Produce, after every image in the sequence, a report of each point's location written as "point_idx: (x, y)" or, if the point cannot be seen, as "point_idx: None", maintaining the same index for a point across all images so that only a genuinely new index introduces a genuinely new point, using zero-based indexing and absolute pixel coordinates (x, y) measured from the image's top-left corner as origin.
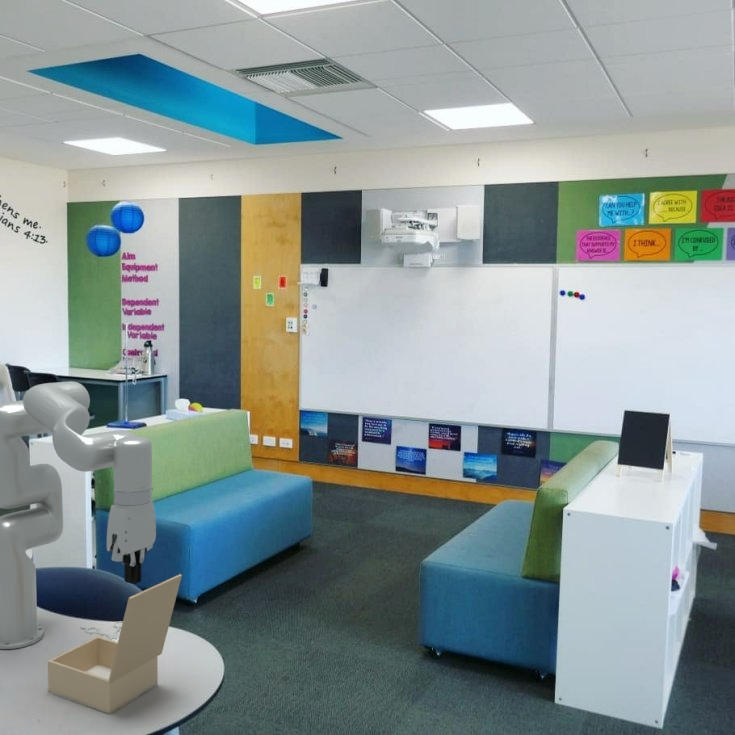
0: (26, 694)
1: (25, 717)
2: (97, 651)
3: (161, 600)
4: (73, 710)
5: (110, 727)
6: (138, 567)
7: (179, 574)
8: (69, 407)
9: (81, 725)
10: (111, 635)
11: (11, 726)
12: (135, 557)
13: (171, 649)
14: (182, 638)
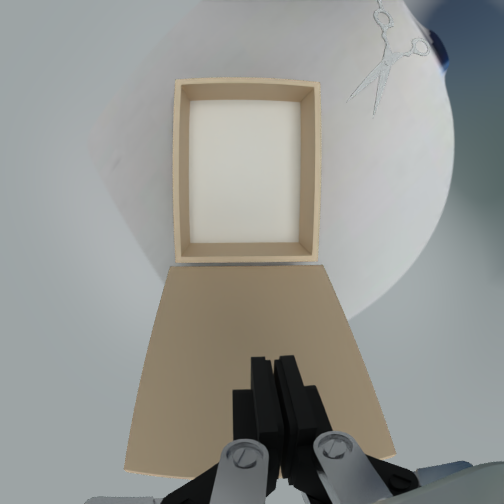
0: (163, 75)
1: (113, 136)
2: (305, 95)
3: None
4: (164, 183)
5: (161, 276)
6: (281, 472)
7: (392, 454)
8: None
9: (140, 232)
10: (390, 54)
11: (88, 142)
12: (318, 484)
13: (408, 179)
14: (440, 171)
